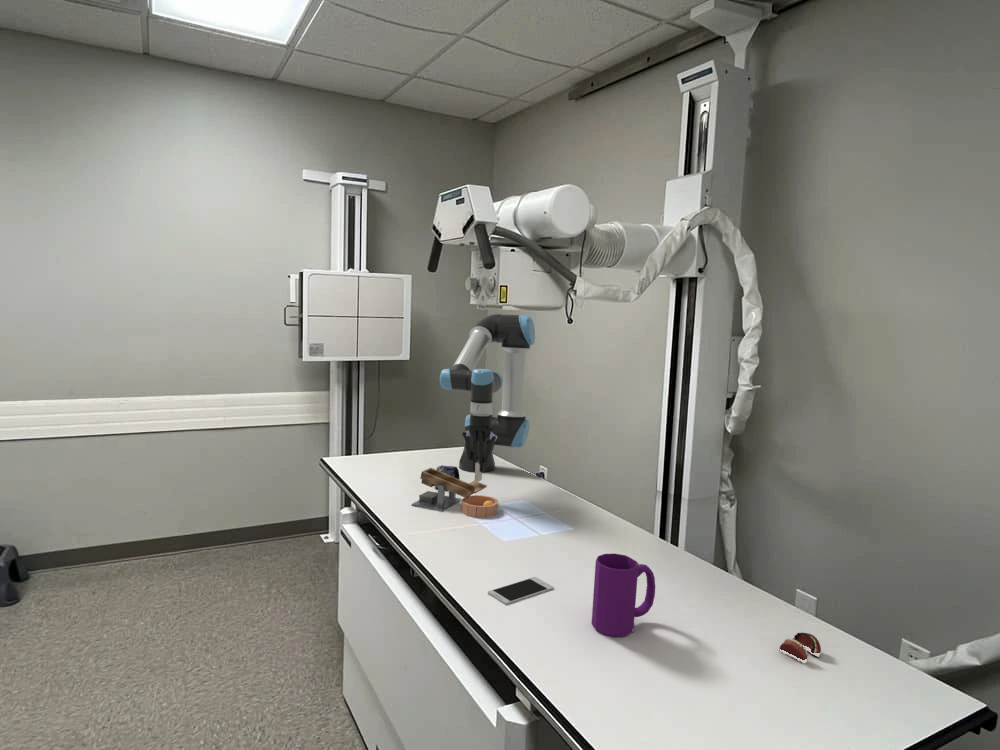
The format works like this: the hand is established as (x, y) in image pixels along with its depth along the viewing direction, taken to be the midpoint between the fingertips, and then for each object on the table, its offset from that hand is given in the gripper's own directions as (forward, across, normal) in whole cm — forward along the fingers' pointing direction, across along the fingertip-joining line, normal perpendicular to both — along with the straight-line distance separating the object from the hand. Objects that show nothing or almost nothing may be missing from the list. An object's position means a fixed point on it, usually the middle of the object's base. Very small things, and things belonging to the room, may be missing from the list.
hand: (478, 480), depth 220 cm
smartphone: (+7, +40, -58) cm, 71 cm away
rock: (+8, -17, +9) cm, 21 cm away
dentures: (+7, +101, -56) cm, 116 cm away
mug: (+7, +66, -62) cm, 90 cm away
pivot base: (+7, -11, -10) cm, 16 cm away
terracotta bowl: (+7, +6, -10) cm, 13 cm away
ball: (+5, +9, -10) cm, 14 cm away
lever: (+2, -7, -6) cm, 9 cm away
